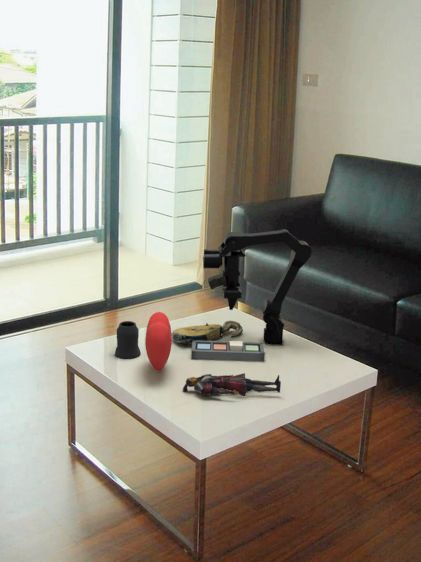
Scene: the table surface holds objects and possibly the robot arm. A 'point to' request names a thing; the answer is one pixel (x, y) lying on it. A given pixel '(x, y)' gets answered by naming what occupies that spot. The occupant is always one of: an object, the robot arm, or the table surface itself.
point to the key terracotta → (219, 347)
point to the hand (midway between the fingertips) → (231, 309)
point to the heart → (158, 340)
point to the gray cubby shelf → (227, 352)
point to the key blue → (203, 347)
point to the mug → (127, 341)
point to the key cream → (236, 346)
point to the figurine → (229, 384)
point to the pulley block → (205, 332)
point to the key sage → (251, 348)
